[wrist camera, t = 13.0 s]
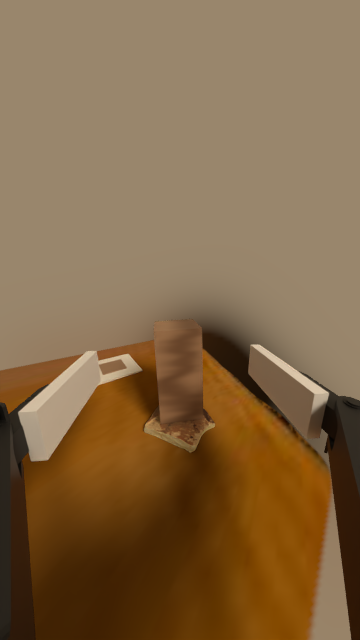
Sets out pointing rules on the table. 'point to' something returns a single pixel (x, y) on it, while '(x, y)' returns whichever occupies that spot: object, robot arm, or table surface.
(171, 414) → the walnut block
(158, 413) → the shard
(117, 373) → the swatch
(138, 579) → the table surface
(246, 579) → the table surface
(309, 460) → the table surface
